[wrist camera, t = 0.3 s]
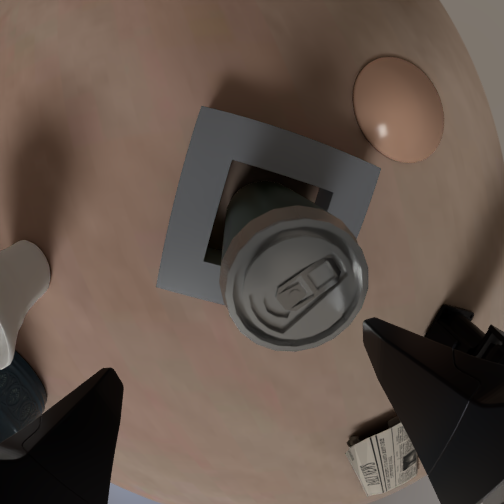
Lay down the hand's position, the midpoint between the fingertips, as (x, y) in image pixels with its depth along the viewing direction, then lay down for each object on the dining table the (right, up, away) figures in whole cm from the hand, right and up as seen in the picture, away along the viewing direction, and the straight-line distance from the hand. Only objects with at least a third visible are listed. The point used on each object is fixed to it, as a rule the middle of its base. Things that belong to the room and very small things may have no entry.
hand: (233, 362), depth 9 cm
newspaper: (+24, -33, +27) cm, 49 cm away
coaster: (+13, +15, +9) cm, 22 cm away
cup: (-20, +2, +12) cm, 23 cm away
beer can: (+1, +6, +12) cm, 13 cm away
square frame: (+1, +6, +12) cm, 13 cm away
